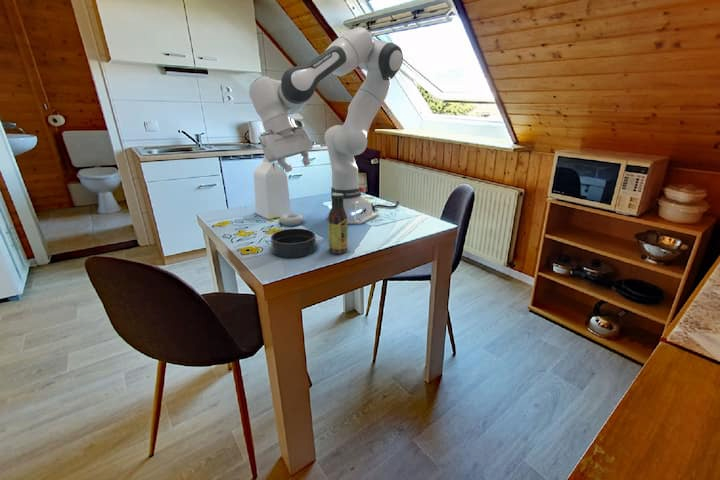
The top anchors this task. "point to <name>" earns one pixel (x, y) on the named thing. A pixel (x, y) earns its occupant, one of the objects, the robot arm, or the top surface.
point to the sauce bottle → (337, 225)
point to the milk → (271, 190)
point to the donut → (291, 219)
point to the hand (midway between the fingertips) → (298, 168)
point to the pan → (293, 242)
